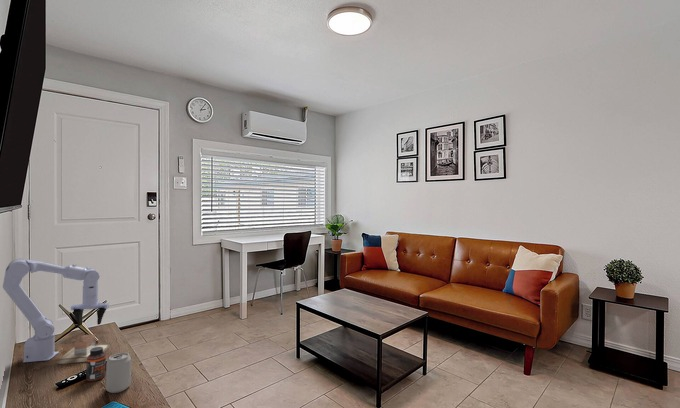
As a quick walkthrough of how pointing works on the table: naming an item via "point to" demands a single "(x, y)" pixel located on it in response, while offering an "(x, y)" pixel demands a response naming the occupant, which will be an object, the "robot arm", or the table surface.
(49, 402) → the table surface
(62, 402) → the table surface
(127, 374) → the can
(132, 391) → the table surface
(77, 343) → the housing
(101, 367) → the supplement bottle
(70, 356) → the stand board
